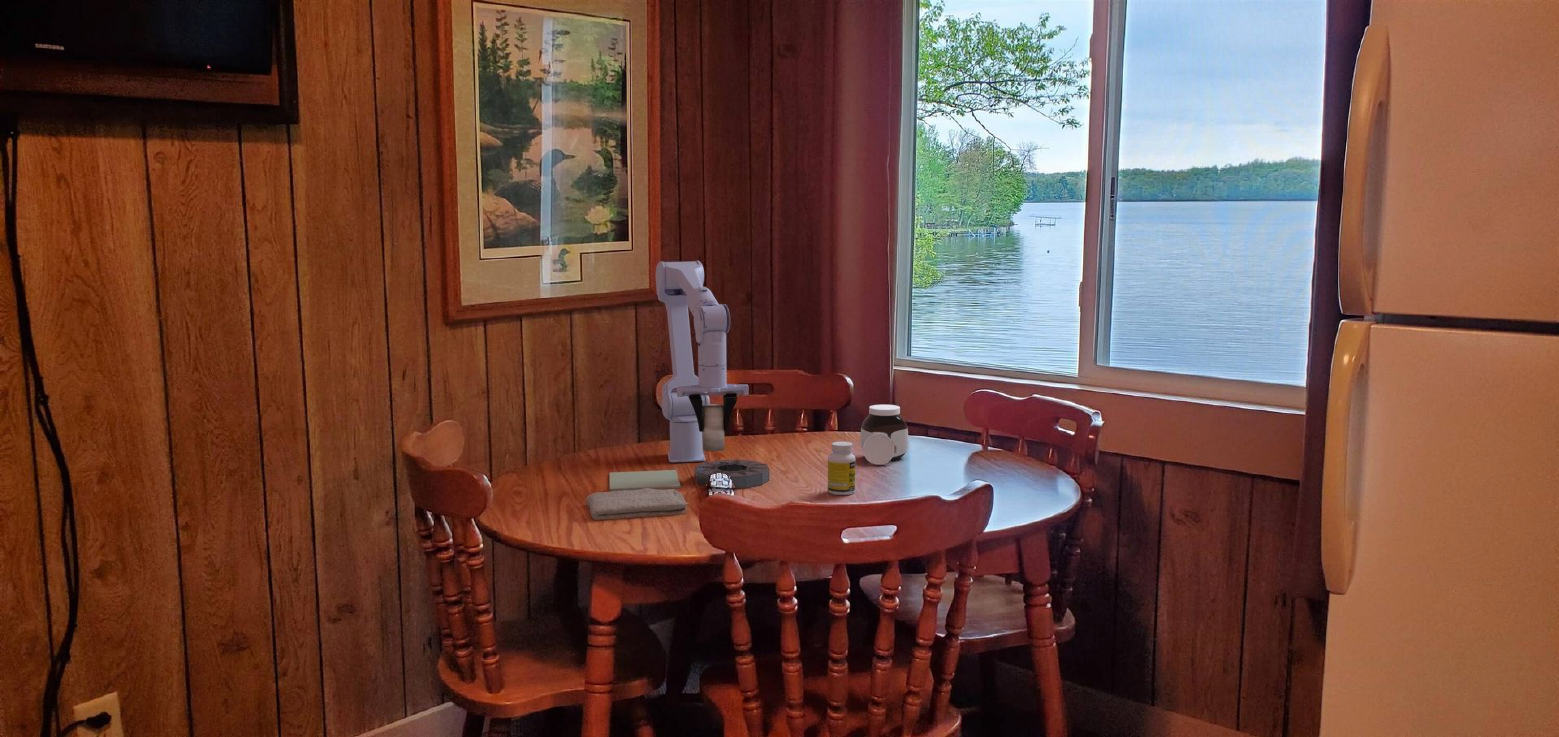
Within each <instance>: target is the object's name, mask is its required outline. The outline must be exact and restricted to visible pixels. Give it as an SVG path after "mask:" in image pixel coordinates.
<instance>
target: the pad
mask: <svg viewBox="0 0 1559 737" xmlns="http://www.w3.org/2000/svg"><path fill="white" fill-rule="evenodd" d="M644 488H650V489H656V490H657V489H659V490H666V489H680V488H681V483H680V478H679V475H678V471H677V469H665V470H664V469H663V470H645V471H644V470H642V471H641V470H640V471H617V472H609V492H611V491H618V490H619V491H622V490H639V489H644Z"/></svg>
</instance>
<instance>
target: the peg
mask: <svg viewBox="0 0 1559 737" xmlns="http://www.w3.org/2000/svg"><path fill="white" fill-rule="evenodd" d="M702 420H703V432H702V447H703V452H709V453H710V452H712V453H713V452H721V451H725V431H724V405H723V404H719V403H714V404H713V403H712V404H711V403H710V404H708V405H703V406H702Z"/></svg>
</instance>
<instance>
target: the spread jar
mask: <svg viewBox="0 0 1559 737" xmlns="http://www.w3.org/2000/svg"><path fill="white" fill-rule="evenodd" d="M868 410H869V411H868V413H869V415H867V417H865V419H864V420H863V422H862V423H861V427H860V446H861V451H862V453H863V456H864V458H865V459H866V461H867V462H869V463H870V464H872V465H876V466H884V465H885V464H887V463H889V461H891V462H896V461H895V460H897V461H899V460H900V459H901V458H903V457H904V456H905V455H906V453H907V451H908V445H909V444H908V443H909V431H908V429H909V428H908V425H907V423H906V421H905V420H904V418H903V417H902V416H901V415H900V414H901V407H900V406H899V405H895V404H874V405H869V407H868Z"/></svg>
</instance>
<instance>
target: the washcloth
mask: <svg viewBox="0 0 1559 737" xmlns="http://www.w3.org/2000/svg"><path fill="white" fill-rule="evenodd" d="M585 503H586V505H587V507H588V509H589V514H590V516H591V519H593V521H604V520H605V521H606V520H616V519H618V520H620V519H630V518H631V519H632V518H634V519H635V518H645V517H646V518H647V517H656V516H657V517H658V516H659V517H660V516H674V515H678V516H679V515H686V514H687V508H686V506H688V505H689V502H687V501H686V500H685V498H684V497H683V494H682V493H681V491H677V490H676V488H668V489H650V488H644V489H639V490H618V491H604V492H603V491H602V492H600V491H597V492H593V493H591V494H588V495H587V496H586V499H585Z"/></svg>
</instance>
